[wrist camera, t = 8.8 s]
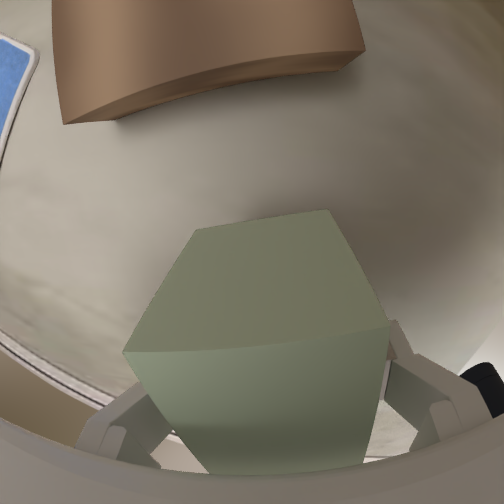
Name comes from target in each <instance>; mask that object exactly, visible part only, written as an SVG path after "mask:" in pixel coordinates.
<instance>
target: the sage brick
mask: <svg viewBox="0 0 504 504" xmlns="http://www.w3.org/2000/svg"><path fill="white" fill-rule="evenodd" d="M390 327H391V325H390V323H389V321H388V319H387V317H386V315H385V313H384V311H383V309H382V307H381V305H380V303H379V301H378V299H377V297H376V295H375V293H374V291H373V289H372V287H371V285H370V283H369V281H368V279H367V277H366V275H365V274H364V272H363V270H362V268H361V266H360V264H359V262H358V261H357V259H356V257H355V255H354V253H353V252H352V250H351V248H350V246H349V244H348V243H347V241H346V239H345V237H344V236H343V234H342V232H341V230H340V229H339V227H338V225H337V224H336V222H335V220H334V218H333V217H332V215H331V213H330V212H329V210H328V209H323V210H316V211H309V212H302V213H295V214H289V215H282V216H276V217H269V218H263V219H257V220H251V221H245V222H239V223H233V224H227V225H221V226H215V227H209V228H203V229H198V230H196V231H195V232H194V234H193V235H192V237H191V238H190V240H189V242H188V243H187V245H186V246H185V248H184V249H183V251H182V252H181V254H180V256H179V257H178V259H177V260H176V262H175V264H174V265H173V267H172V268H171V270H170V272H169V273H168V275H167V276H166V278H165V280H164V281H163V283H162V284H161V286H160V288H159V289H158V291H157V293H156V294H155V296H154V298H153V299H152V301H151V303H150V304H149V306H148V308H147V309H146V311H145V313H144V315H143V316H142V318H141V320H140V321H139V323H138V325H137V327H136V328H135V330H134V332H133V334H132V335H131V337H130V339H129V341H128V342H127V344H126V346H125V348H124V350H123V351H122V353H123V355H124V356H125V358H126V360H127V361H128V363H129V365H130V366H131V368H132V370H133V371H134V373H135V374H136V376H137V378H138V379H139V381H140V382H141V384H142V385H143V387H144V389H145V390H146V392H147V393H148V395H149V396H150V398H151V399H152V401H153V402H154V403H155V405H156V406H157V408H158V409H159V411H160V412H161V413H162V415H163V416H164V418H165V419H166V420H167V422H168V423H169V424H170V426H171V427H172V428H173V430H174V431H175V432H176V434H177V435H178V436H179V438H180V439H181V440H182V441H183V443H184V444H185V445H186V446H187V448H188V449H189V450H190V451H191V452H192V454H193V455H194V456H195V457H196V458H197V460H198V461H199V462H200V463H201V464H202V465H203V466H204V468H205V469H206V470H207V471H208V472H209V473H210V474H220V475H275V474H291V473H303V472H313V471H321V470H328V469H335V468H342V467H347V466H353V465H358V464H363V461H364V457H365V454H366V451H367V447H368V443H369V440H370V436H371V432H372V428H373V424H374V420H375V415H376V411H377V406H378V402H379V397H380V392H381V387H382V381H383V376H384V370H385V364H386V358H387V351H388V343H389V336H390Z"/></svg>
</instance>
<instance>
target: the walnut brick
mask: <svg viewBox="0 0 504 504" xmlns="http://www.w3.org/2000/svg"><path fill="white" fill-rule="evenodd" d="M52 37H53V53H54V64H55V74H56V82H57V89H58V96H59V103H60V109H61V115H62V120H63V125H66V124H74V123H84V122H95V121H109V120H116V119H119V118H121V117H124V116H127V115H129V114H132V113H135V112H138V111H141V110H143V109H146V108H149V107H152V106H155V105H158V104H162V103H165V102H168V101H171V100H175V99H178V98H182V97H185V96H189V95H193V94H196V93H200V92H204V91H208V90H212V89H217V88H221V87H225V86H230V85H235V84H240V83H245V82H250V81H256V80H262V79H268V78H274V77H281V76H289V75H297V74H306V73H316V72H328V71H338V70H340V69H341V68H342V67H344V66H345V65H346V64H348V63H349V62H351V61H352V60H353V59H355V58H356V57H358V56H359V55H360V54H362V53H363V52H365V51H366V49H365V45H364V41H363V37H362V33H361V30H360V26H359V22H358V19H357V15H356V12H355V9H354V6H353V2H352V0H52Z"/></svg>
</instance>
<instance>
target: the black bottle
mask: <svg viewBox="0 0 504 504" xmlns="http://www.w3.org/2000/svg"><path fill="white" fill-rule="evenodd" d="M459 377H461V378H463V379H465V380H466V381H468V382H470V383H472V384H473V385H475V386H477V388H478V390H479V392H480V394H481V396H482V398H483V399H484V401H485V403H486V405H487V407H488V410H489V412H490V414H491V416H492V418H493V419H494V418H496V417H498V416H500V415H502V414H504V382H503V381H502V379H501V378H500V376H499V374H498V373H497V371H496V370H495V368H494V367H493V365H492V364H491V363H489V362H483V363H480V364H477V365H475V366H473V367H471V368H470V369H468V370H466V371H465V372H464V373H463V374H461V375H460V376H459Z"/></svg>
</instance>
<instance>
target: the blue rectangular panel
mask: <svg viewBox="0 0 504 504" xmlns="http://www.w3.org/2000/svg"><path fill="white" fill-rule="evenodd" d="M39 57H40V53H39V51H38V50H37V49H36V48H34V47H32V46H30V45H26V44H25V43H24V42H21V41H19V40H17V39H15V38H13V37H11V36H9V35H6V34H4V33H2V32H0V162H1V158H2V154H3V151H4V147H5V144H6V140H7V137H8V134H9V131H10V128H11V125H12V122H13V119H14V117H15V114H16V111H17V108H18V106H19V104H20V101H21V99H22V96H23V94H24V92H25V89H26V87H27V85H28V83H29V81H30V78H31V76H32V74H33V72H34V70H35V68H36V66H37V64H38V61H39Z"/></svg>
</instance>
